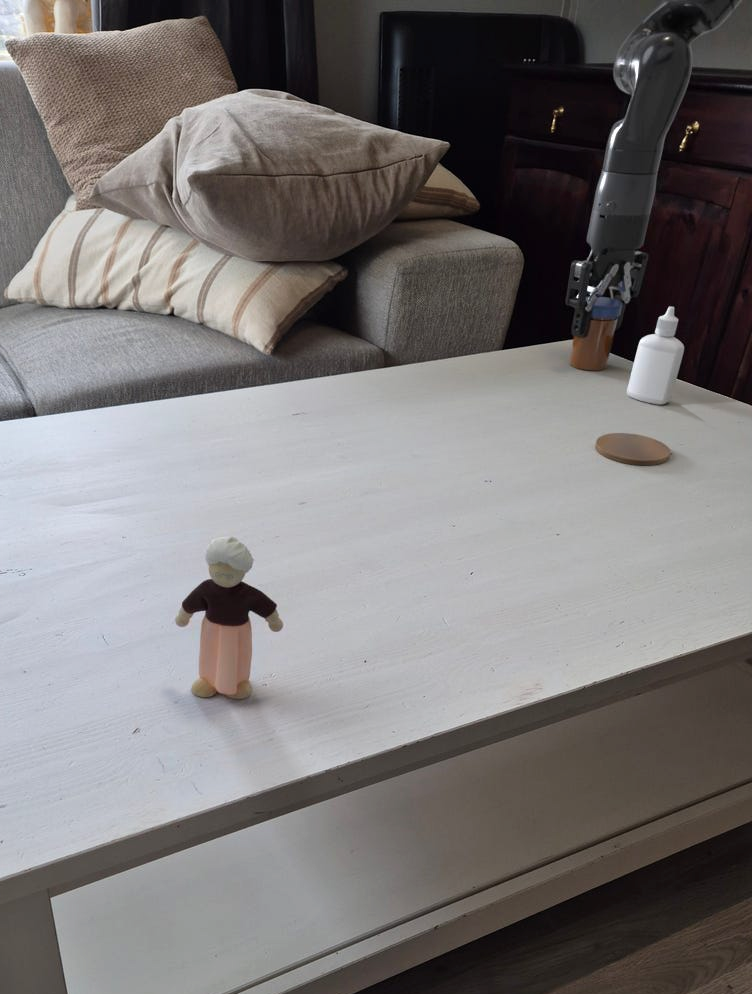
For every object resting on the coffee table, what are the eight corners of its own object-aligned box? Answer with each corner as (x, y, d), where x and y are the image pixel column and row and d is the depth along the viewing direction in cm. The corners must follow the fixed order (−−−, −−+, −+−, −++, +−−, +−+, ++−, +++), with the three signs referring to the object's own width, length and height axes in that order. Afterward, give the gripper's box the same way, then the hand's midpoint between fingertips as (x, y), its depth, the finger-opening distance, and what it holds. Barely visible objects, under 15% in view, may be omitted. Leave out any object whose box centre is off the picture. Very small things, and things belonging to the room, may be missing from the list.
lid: (570, 308, 133) (573, 296, 133) (608, 307, 134) (611, 296, 133) (588, 318, 129) (590, 306, 128) (627, 318, 129) (630, 306, 128)
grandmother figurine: (178, 706, 67) (171, 553, 60) (177, 675, 70) (171, 526, 63) (282, 701, 68) (288, 550, 61) (277, 671, 71) (282, 523, 64)
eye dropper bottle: (645, 407, 121) (670, 314, 114) (621, 393, 126) (643, 302, 119) (674, 404, 122) (700, 312, 115) (649, 390, 127) (672, 300, 120)
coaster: (645, 435, 113) (647, 431, 113) (683, 463, 106) (685, 458, 106) (582, 439, 111) (583, 434, 111) (616, 467, 105) (617, 462, 104)
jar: (595, 358, 138) (608, 301, 133) (613, 369, 134) (627, 310, 129) (562, 360, 137) (574, 301, 133) (579, 371, 133) (591, 311, 128)
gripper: (631, 199, 130) (606, 319, 139) (564, 208, 123) (541, 334, 132) (678, 207, 125) (648, 331, 134) (610, 217, 118) (583, 347, 127)
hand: (595, 332), depth 133 cm, fingers open, 7 cm apart
